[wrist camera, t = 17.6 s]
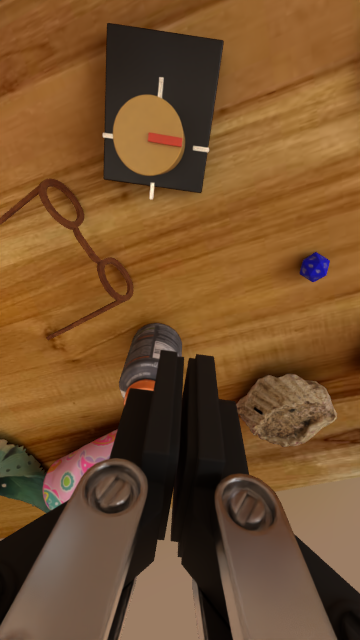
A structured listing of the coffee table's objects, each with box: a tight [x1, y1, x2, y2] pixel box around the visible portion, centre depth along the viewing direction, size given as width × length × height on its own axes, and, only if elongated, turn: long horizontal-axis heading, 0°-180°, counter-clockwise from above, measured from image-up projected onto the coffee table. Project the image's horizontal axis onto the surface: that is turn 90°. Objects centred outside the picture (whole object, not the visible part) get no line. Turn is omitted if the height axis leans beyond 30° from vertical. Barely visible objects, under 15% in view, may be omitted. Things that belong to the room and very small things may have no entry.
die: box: [300, 252, 330, 282], centre depth 32 cm, size 3×3×3 cm
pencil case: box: [43, 429, 118, 510], centre depth 41 cm, size 21×9×9 cm, turn 120°
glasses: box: [0, 179, 133, 340], centre depth 32 cm, size 13×13×5 cm
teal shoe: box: [0, 439, 51, 513], centre depth 47 cm, size 9×20×5 cm, turn 33°
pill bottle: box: [119, 323, 182, 406], centre depth 33 cm, size 6×6×11 cm
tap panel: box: [103, 23, 224, 199], centre depth 28 cm, size 12×9×2 cm
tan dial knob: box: [113, 95, 185, 176], centre depth 25 cm, size 5×5×6 cm
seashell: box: [236, 374, 337, 447], centre depth 38 cm, size 11×7×10 cm
